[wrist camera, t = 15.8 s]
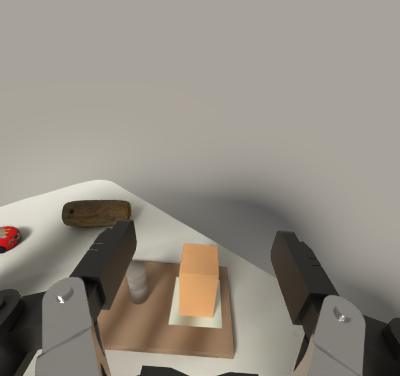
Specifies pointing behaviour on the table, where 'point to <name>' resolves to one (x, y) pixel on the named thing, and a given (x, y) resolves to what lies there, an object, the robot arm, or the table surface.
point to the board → (164, 316)
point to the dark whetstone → (95, 212)
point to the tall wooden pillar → (198, 280)
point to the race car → (8, 238)
